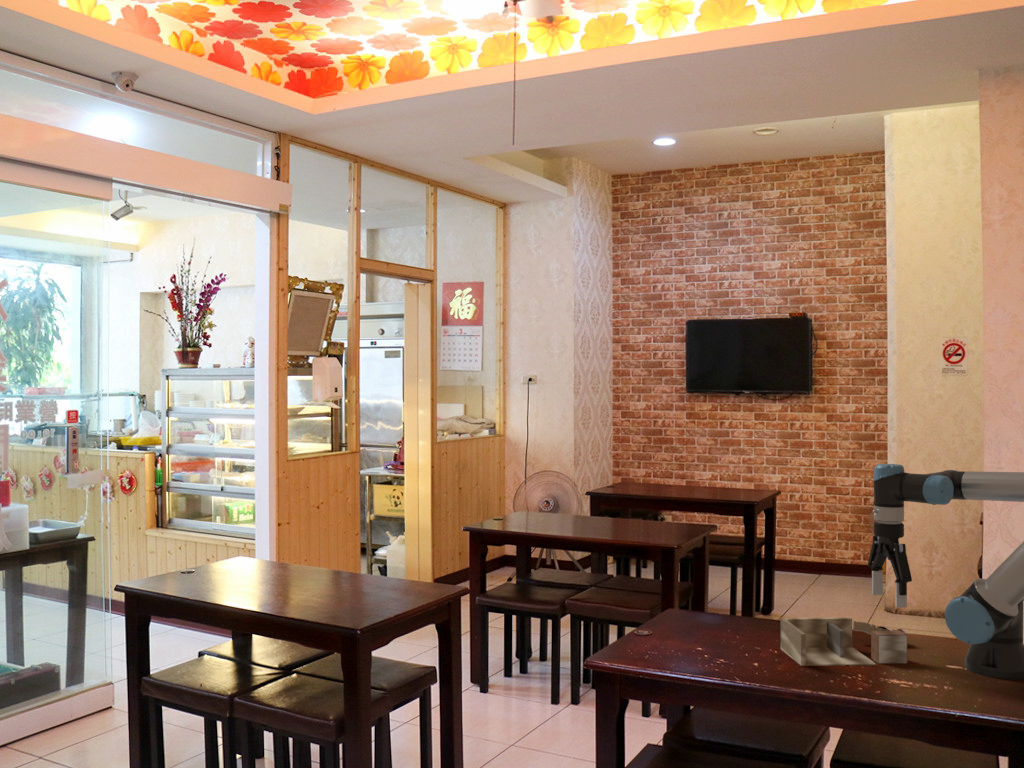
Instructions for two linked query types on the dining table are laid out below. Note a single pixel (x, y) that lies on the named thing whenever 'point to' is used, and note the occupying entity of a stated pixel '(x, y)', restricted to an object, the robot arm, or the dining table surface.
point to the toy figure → (869, 627)
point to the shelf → (820, 642)
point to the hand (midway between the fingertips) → (888, 600)
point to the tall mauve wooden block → (889, 646)
